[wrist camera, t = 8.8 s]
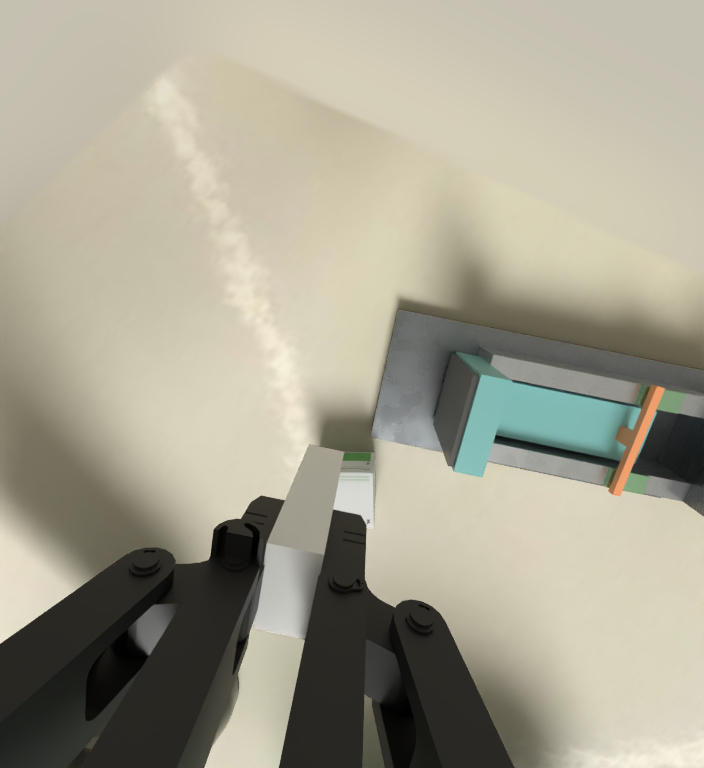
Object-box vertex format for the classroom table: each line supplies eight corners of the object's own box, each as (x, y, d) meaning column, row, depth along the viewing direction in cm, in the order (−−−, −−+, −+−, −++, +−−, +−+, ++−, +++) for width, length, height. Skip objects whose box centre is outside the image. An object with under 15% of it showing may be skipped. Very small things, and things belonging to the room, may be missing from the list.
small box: (375, 449, 38) (374, 472, 33) (375, 502, 39) (375, 531, 35) (317, 448, 38) (308, 472, 34) (320, 500, 40) (311, 530, 35)
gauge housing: (370, 433, 38) (368, 466, 31) (398, 308, 34) (402, 314, 28) (653, 492, 37) (714, 539, 30) (706, 370, 34) (788, 392, 27)
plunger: (429, 434, 36) (444, 483, 27) (454, 339, 34) (479, 358, 25) (607, 471, 35) (680, 532, 27) (644, 377, 33) (738, 410, 24)
